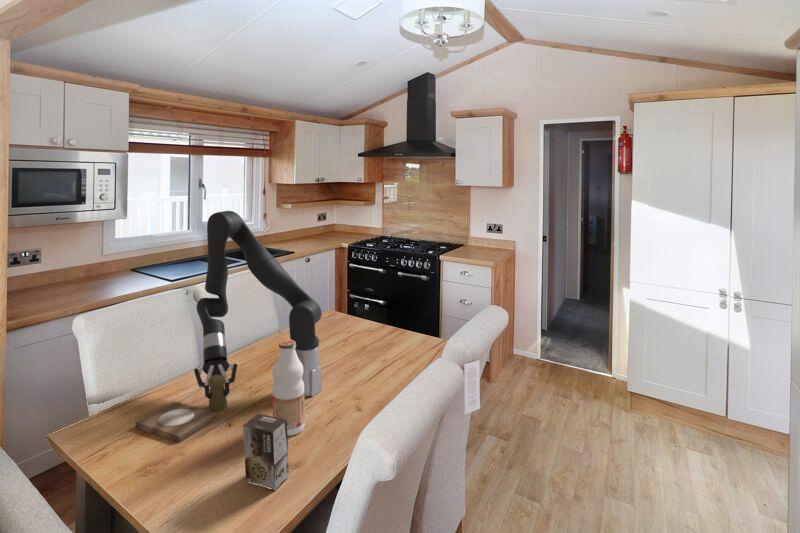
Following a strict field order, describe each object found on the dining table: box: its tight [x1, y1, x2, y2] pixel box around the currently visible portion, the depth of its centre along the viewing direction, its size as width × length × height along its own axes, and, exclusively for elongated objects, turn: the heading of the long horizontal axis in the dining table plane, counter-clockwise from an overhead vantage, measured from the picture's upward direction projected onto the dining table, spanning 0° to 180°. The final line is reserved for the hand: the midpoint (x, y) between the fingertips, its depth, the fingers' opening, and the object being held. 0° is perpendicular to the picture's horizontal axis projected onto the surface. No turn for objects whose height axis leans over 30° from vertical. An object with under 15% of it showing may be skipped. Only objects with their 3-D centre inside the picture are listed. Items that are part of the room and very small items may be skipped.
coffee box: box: [242, 413, 290, 489], centre depth 113 cm, size 9×6×16 cm
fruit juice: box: [271, 339, 306, 437], centre depth 135 cm, size 9×9×28 cm
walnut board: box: [134, 401, 217, 443], centre depth 139 cm, size 18×14×2 cm
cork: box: [208, 375, 229, 413], centre depth 148 cm, size 6×6×11 cm
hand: (217, 396), depth 147 cm, fingers closed on cork, 4 cm apart
